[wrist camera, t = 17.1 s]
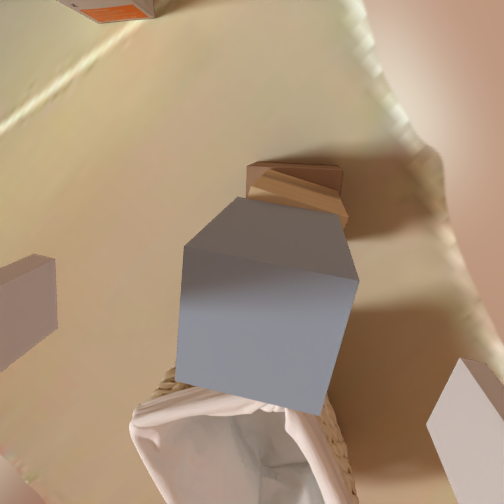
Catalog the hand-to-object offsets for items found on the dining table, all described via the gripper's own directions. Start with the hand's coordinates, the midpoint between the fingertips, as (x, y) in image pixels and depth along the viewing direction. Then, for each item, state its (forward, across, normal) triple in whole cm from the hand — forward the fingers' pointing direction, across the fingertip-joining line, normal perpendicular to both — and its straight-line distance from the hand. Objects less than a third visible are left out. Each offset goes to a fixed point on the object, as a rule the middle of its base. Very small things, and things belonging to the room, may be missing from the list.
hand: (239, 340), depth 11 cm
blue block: (+10, 0, 0) cm, 10 cm away
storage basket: (+25, +4, -25) cm, 36 cm away
